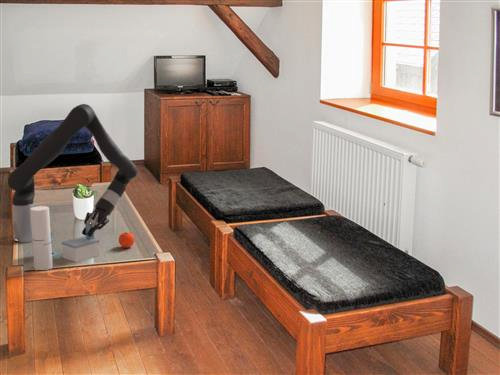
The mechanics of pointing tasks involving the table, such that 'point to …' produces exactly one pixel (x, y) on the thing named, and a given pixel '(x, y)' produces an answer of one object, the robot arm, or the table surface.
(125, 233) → the clementine
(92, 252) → the tub
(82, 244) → the lid
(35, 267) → the cylindrical container
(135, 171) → the robot arm
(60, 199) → the table surface
